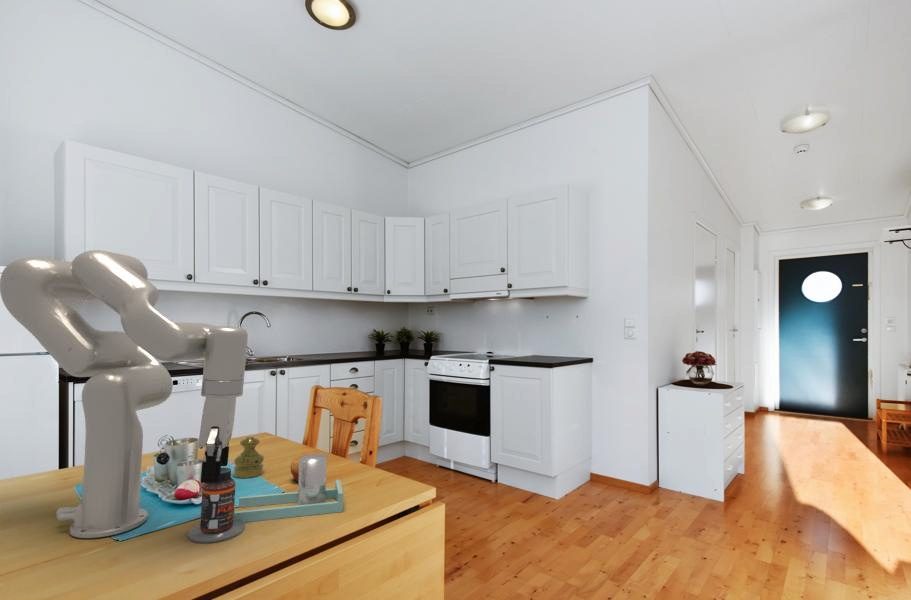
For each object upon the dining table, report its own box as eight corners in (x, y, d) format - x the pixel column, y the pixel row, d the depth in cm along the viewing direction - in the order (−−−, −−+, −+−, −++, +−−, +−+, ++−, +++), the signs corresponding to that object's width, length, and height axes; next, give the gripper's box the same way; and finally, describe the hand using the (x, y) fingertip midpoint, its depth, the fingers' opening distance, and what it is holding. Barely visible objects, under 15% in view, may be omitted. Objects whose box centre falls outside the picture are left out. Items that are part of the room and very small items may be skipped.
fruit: (333, 471, 125) (322, 449, 122) (313, 494, 119) (301, 471, 116) (313, 466, 129) (302, 444, 126) (293, 488, 124) (280, 465, 120)
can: (297, 513, 101) (299, 462, 101) (297, 503, 106) (299, 455, 107) (325, 510, 103) (327, 460, 103) (324, 500, 108) (326, 453, 109)
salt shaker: (227, 477, 123) (229, 439, 124) (245, 469, 130) (247, 433, 131) (251, 479, 122) (253, 441, 122) (268, 471, 129) (270, 435, 129)
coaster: (182, 546, 85) (182, 543, 85) (194, 524, 94) (194, 521, 94) (241, 539, 88) (241, 536, 88) (247, 518, 98) (247, 515, 98)
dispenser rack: (233, 523, 95) (234, 503, 95) (239, 505, 104) (240, 487, 104) (342, 511, 102) (343, 493, 102) (339, 496, 111) (339, 479, 111)
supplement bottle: (219, 536, 88) (222, 476, 89) (192, 532, 89) (195, 473, 90) (240, 523, 94) (242, 467, 94) (214, 520, 95) (217, 464, 96)
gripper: (210, 381, 100) (202, 461, 99) (192, 394, 84) (182, 490, 83) (247, 382, 102) (240, 460, 101) (237, 395, 86) (228, 488, 85)
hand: (214, 473), depth 92 cm, fingers open, 9 cm apart
